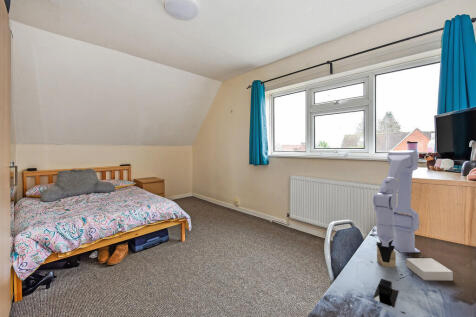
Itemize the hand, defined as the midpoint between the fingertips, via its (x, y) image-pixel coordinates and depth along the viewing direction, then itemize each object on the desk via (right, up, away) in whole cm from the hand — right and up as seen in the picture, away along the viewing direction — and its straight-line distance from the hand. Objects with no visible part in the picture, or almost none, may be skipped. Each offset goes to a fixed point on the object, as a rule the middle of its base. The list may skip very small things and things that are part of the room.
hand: (386, 257), depth 84 cm
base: (+11, -2, -7) cm, 13 cm away
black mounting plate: (-12, -5, -17) cm, 21 cm away
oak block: (0, -3, 0) cm, 3 cm away
